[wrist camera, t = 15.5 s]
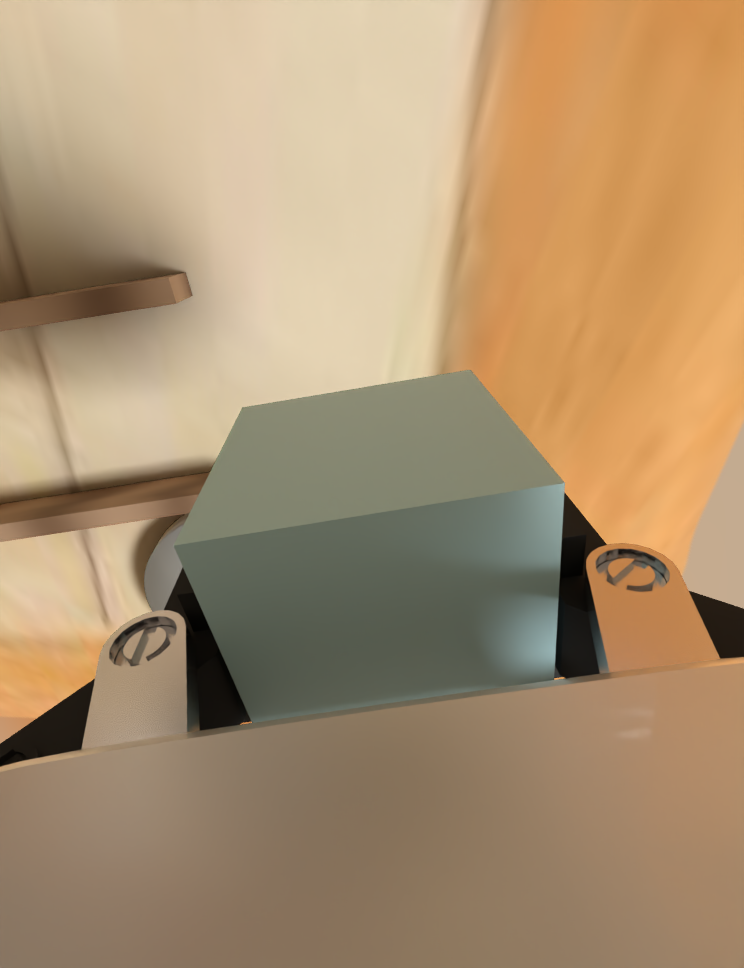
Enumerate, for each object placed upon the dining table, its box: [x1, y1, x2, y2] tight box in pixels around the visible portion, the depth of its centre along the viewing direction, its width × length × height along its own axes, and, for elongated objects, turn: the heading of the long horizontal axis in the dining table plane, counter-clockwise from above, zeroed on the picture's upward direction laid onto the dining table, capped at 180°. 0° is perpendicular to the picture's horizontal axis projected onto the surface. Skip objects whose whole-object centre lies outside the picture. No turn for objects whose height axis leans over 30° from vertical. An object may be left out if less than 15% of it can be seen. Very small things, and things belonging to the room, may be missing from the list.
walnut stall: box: [0, 272, 210, 542], centre depth 24 cm, size 19×11×2 cm, turn 98°
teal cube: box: [173, 370, 565, 723], centre depth 9 cm, size 5×5×5 cm
